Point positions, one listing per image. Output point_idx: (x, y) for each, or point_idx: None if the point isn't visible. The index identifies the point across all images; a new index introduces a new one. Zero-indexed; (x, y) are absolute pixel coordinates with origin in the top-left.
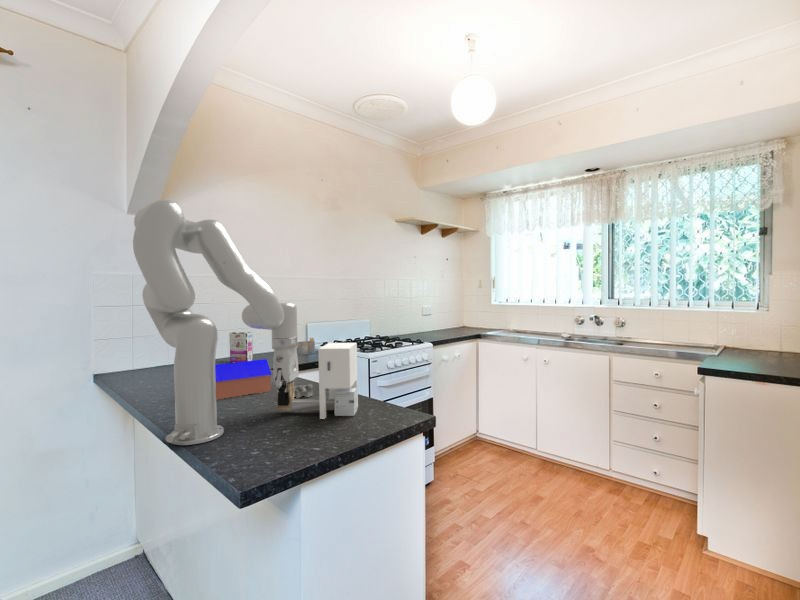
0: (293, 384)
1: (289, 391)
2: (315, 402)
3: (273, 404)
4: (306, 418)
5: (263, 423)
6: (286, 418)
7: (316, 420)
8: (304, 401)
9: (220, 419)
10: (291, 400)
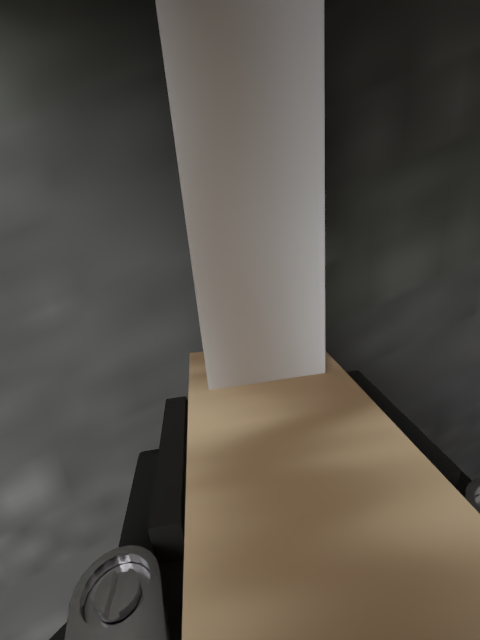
0: (244, 596)
1: (433, 471)
2: (319, 12)
3: (41, 563)
4: (382, 145)
5: (460, 414)
6: (372, 318)
7: (448, 10)
8: (303, 210)
9: None
10: (306, 381)
